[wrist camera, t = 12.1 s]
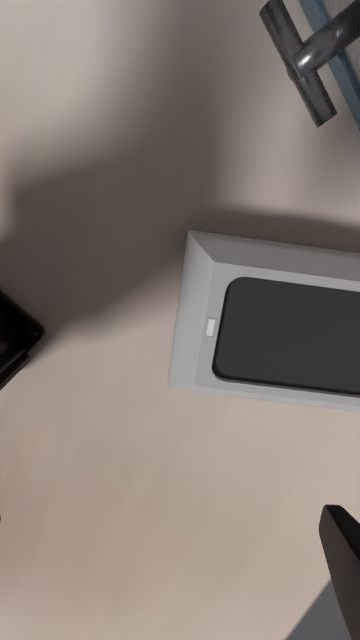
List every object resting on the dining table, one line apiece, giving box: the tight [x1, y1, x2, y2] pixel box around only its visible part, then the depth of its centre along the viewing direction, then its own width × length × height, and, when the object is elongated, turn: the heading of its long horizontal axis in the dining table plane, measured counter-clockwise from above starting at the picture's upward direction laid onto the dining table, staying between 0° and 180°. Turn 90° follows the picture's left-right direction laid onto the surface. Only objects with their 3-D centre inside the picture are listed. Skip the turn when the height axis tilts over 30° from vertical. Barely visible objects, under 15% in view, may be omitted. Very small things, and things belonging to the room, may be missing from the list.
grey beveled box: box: [168, 230, 360, 412], centre depth 19 cm, size 10×4×15 cm
